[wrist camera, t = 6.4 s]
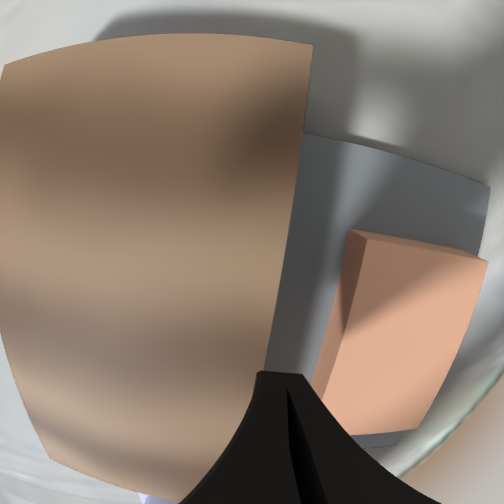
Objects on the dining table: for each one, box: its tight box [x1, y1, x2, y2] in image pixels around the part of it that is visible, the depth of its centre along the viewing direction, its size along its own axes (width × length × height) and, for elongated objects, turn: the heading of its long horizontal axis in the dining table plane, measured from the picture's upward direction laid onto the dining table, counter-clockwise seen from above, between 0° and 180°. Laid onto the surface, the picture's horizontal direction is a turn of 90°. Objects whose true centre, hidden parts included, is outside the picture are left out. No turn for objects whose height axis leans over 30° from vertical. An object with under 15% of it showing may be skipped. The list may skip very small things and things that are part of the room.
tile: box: [311, 229, 488, 435], centre depth 11 cm, size 9×6×2 cm, turn 172°
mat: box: [263, 133, 490, 449], centre depth 13 cm, size 16×10×1 cm, turn 172°
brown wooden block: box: [0, 33, 313, 502], centre depth 11 cm, size 20×11×4 cm, turn 172°
